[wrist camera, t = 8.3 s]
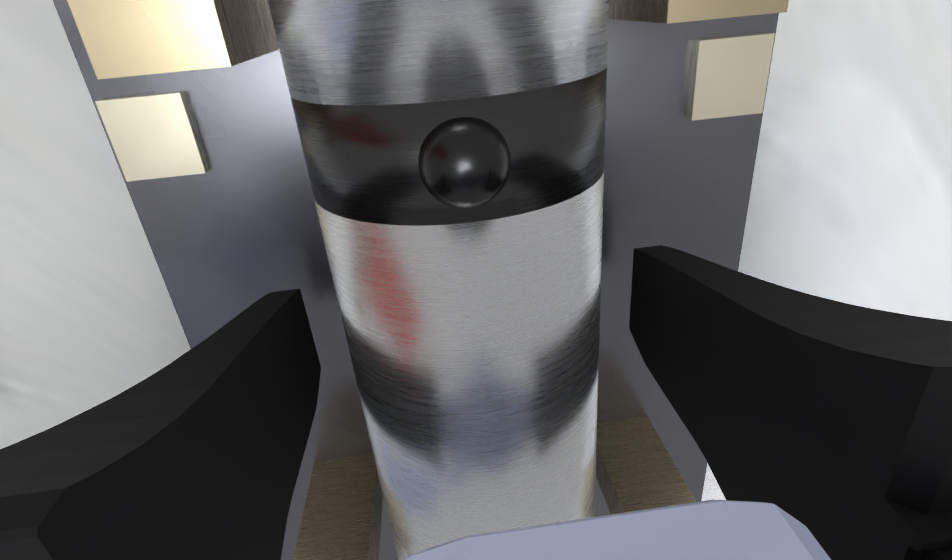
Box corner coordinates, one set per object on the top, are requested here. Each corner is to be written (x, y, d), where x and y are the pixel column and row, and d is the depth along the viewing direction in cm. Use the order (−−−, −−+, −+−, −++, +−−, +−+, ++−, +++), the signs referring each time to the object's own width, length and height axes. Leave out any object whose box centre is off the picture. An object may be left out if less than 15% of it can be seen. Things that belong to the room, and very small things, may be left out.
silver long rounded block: (566, 529, 18) (622, 726, 13) (416, 551, 18) (416, 758, 13) (561, -302, 9) (744, -690, 4) (247, -281, 8) (13, -661, 4)
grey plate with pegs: (683, 507, 20) (752, 636, 16) (293, 564, 19) (261, 715, 15) (803, -363, 9) (1090, -630, 5) (-34, -311, 9) (-416, -578, 5)
